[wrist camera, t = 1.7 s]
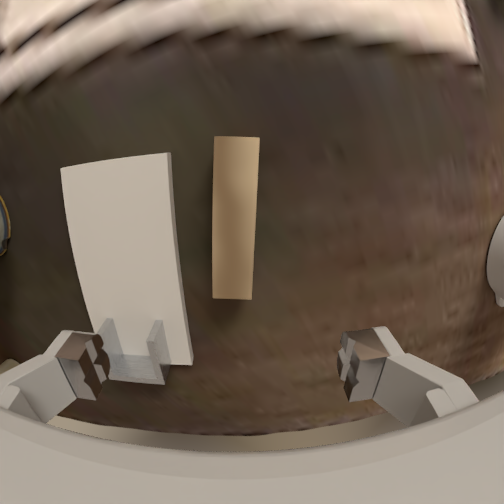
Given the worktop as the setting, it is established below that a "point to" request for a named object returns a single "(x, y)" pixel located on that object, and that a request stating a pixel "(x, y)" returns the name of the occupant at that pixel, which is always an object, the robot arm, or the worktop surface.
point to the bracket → (130, 263)
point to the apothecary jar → (4, 227)
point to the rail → (234, 215)
